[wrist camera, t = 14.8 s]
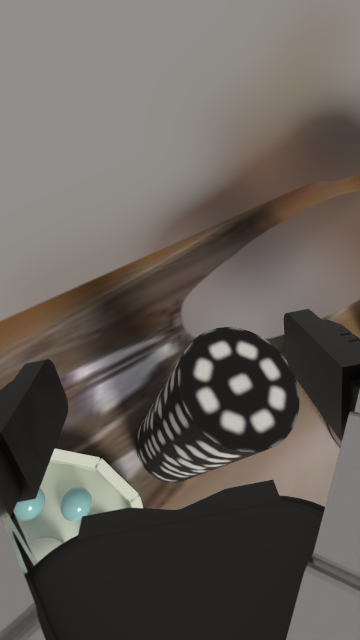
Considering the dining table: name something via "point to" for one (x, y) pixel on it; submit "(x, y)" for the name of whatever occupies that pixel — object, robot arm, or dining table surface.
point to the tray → (61, 484)
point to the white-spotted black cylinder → (218, 406)
